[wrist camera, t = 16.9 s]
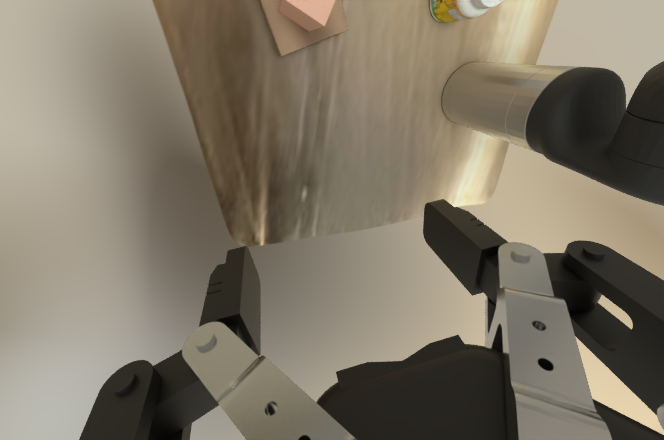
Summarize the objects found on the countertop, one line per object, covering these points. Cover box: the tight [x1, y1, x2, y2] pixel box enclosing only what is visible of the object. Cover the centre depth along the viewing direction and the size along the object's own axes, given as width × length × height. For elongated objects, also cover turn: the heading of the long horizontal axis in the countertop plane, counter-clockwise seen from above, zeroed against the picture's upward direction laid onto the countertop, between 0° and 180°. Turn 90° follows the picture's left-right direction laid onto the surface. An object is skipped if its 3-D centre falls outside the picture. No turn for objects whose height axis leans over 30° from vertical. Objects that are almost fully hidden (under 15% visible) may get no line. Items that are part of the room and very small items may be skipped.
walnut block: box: [259, 0, 348, 56], centre depth 33 cm, size 9×9×4 cm
